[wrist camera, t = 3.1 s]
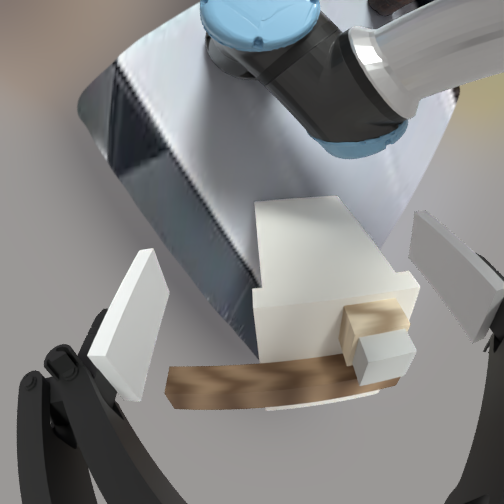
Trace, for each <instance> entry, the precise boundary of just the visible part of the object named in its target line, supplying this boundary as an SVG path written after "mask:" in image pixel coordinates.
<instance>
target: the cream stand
mask: <svg viewBox="0 0 504 504" xmlns="http://www.w3.org/2000/svg"><path fill="white" fill-rule="evenodd" d="M254 205H255V216H256V227H257V238H258V249H259V260H260V271H261V283H262V288H254V289H252V294H253V311H254V320H255V328H256V336H257V344H258V353H259V361H260V363H271V362H281V361H291V360H300V359H308V358H315V357H322V356H329V355H336V354H342V353H343V352H342V349H341V346H340V342H339V339H338V337H339V331H340V326H341V320H342V314H343V307H344V306H346V305H353V304H360V303H367V302H373V301H380V300H386V299H392V298H396V299H397V301H398V303H399V304H400V306H401V308H402V310H403V311H404V313H405V315H406V317H407V318H408V320H409V319H410V316H411V314H412V311H413V308H414V305H415V302H416V299H417V296H418V293H419V289H420V285H419V284H418V283H417V281H416V280H415V278H414V277H413V276H412V274H411V273H410V272H409V271H405V272H397V273H396V272H395V271H394V269H393V268H392V267H391V265H390V264H389V262H388V261H387V260H386V258H385V257H384V255H383V254H382V253H381V251H380V250H379V249H378V247H377V246H376V244H375V243H374V242H373V240H372V239H371V238H370V236H369V235H368V234H367V233H366V231H365V230H364V229H363V227H362V226H361V225H360V224H359V222H358V221H357V220H356V218H355V217H354V216H353V215H352V213H351V212H350V211H349V210H348V208H347V207H346V206H345V205H344V204H343V202H342V201H341V200H340V199H339V198H338V196H319V197H304V198H290V199H277V200H265V201H254ZM379 390H380V389H379ZM379 390H375V391H371V392H366V393H362V394H357V395H352V396H347V397H341V398H336V399H330V400H324V401H318V402H311V403H303V404H295V405H286V406H276V407H265V409H266V411H271V410H281V409H291V408H299V407H307V406H314V405H320V404H327V403H333V402H339V401H344V400H349V399H354V398H359V397H363V396H368V395H372V394H377V393H378V392H379Z"/></svg>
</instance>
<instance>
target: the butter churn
mask: <svg viewBox="0 0 504 504" xmlns="http://www.w3.org/2000/svg"><path fill="white" fill-rule="evenodd" d="M368 1H369V4H370V6H371V7H372V9H373V10H376V11H378V13H379V14H381V15H384V16H388V15H390V14H392V13H394V12H395V11H397V10H398V9H400V8H402V7H403V6H405V5H407V4H409V3H411V2H413V1H415V0H368Z"/></svg>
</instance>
